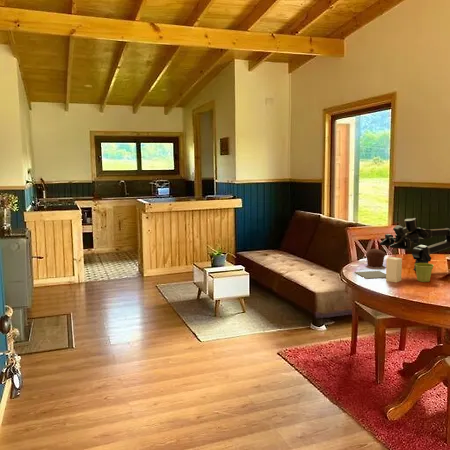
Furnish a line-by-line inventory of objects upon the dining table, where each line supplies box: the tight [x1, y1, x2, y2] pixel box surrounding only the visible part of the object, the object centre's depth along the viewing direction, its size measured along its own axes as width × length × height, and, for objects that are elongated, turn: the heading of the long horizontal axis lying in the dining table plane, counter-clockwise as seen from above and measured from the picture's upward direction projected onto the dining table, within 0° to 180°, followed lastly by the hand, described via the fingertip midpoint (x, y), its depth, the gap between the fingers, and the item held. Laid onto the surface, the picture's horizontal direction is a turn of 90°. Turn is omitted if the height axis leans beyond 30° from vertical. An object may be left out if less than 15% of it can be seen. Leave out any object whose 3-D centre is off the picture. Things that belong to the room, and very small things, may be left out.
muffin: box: [365, 248, 386, 268], centre depth 275 cm, size 12×11×10 cm
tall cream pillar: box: [385, 256, 403, 283], centre depth 237 cm, size 6×6×12 cm
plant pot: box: [413, 262, 435, 283], centre depth 236 cm, size 9×9×9 cm
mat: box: [354, 270, 386, 280], centre depth 251 cm, size 15×15×1 cm
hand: (384, 245), depth 250 cm, fingers open, 9 cm apart
